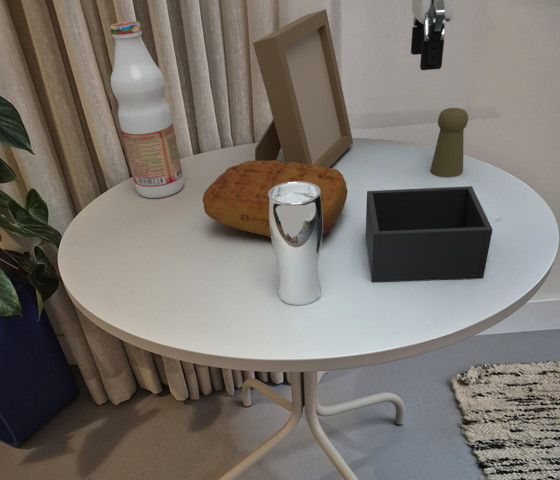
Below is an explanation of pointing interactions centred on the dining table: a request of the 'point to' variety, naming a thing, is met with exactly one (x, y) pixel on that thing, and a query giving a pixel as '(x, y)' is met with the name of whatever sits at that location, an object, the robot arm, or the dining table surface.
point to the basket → (426, 234)
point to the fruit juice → (144, 115)
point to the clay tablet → (256, 185)
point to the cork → (450, 143)
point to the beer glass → (297, 239)
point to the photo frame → (303, 94)
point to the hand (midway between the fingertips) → (425, 61)
